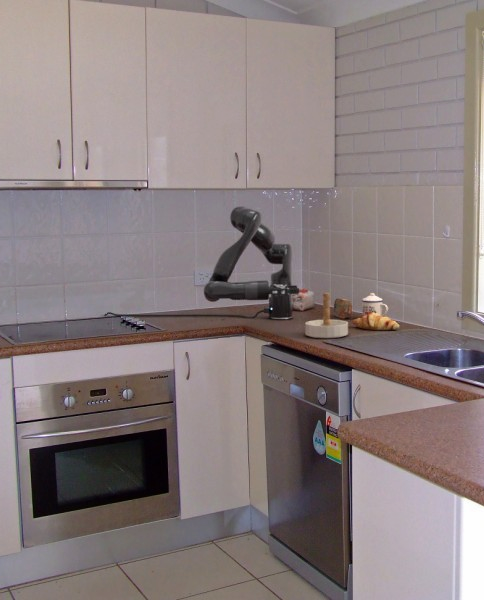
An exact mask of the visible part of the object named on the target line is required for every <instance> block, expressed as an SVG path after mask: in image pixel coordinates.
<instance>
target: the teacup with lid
mask: <svg viewBox="0 0 484 600" xmlns="http://www.w3.org/2000/svg"><path fill="white" fill-rule="evenodd" d="M383 301H384V299H383V298H381V297H380V296H378V295H376V294H375V293H374V292H370V293H369V295H367V296H366V297H363V298H362V300H361V302H362V317H364V316H368V315H369V314H370V313H372V312H373V313H378V314H380V315H381V316H386V315H387V314H388V311H389V307H388V305H387V304H386V303H383ZM383 307H385V311H384V312H383Z"/></svg>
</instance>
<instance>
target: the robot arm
mask: <svg viewBox="0 0 484 600" xmlns="http://www.w3.org/2000/svg"><path fill="white" fill-rule="evenodd" d="M262 218H263V217H262V214H261V212H260V211H258V210H256V209H253V208H251V207H246V206H244V205H237V206H235V207H234V208H232V209H231V212H230V216H229V222H230V224H231V226H232V227H233V228H234V229H236V230H237V231H238V232H240V233H241V236H240V237H239V238H238V239H237V240H236V241H234V243H233V244H231V245H230V246H228V247H227V248H226V249H224V251H222V252H221V254H220V255H219V257H218V259H217V261H216V263H215V265H214V267H213V270H212V274H211V276H210V278H209V280H208V282H207V283H206V284H204V287H203V296H204V299H206V301H208V302H211V303H214V302H218V301H219V300H220V299H222V300H223V299H225V300H226V299H229V300H232V301H268V306H267V307H264V308H263V309H262V310H259V311H256V313H255V315H253V316H246V315H242V314H218V313H217V314H214V313H213V314H210V313H209V314H207V313H205V314H203V313H201V314H200V313H199V314H195V313H193V314H191V313H190V314H189V313H188V314H184V313H183V314H121V313H120V314H119V313H113V312H110V311H109V312H106V313H107V314H106V313H105V314H103V316H104V317H106V316H107V315H112V316H114V317H147V318H148V317H151V318H152V317H153V318H154V317H158V318H159V317H228V318H229V317H233V318H243V319H255V318H257V316H258V315H259V314H261V313H263V314H268V319H271V320H275V321H277V320H279V321H280V320H281V321H283V320H291V319H293V311H294V310H293V309H292V295H293V294H299V290H300V288H299V287H298V285H294V284H292V275H293V247H292V245H291V244H290V243H285V242H281V243H280V242H278V243H277V242H276V236H275V234H274V232H273V231H272V230H271V229H270V228H269V227H268V226H267V225H265V224H263V222H262V220H263V219H262ZM250 243H251V244H252V245H253V246H255V248H257V249H258V250H259V252H260V253H261V254H262V255H263V256H264V259H266V261H267V262H268V263H269V264H271V265H282V266H281V268H280V269H279V270H276V271H274V272H271V273H270V277H269V278H270V280H269V281H270V283H269V281H268V280H247V281H232V282H231V281H229V279H230V277H231V276H232V275H233V272H234V270H235V267H236V265H237V263H238V261H239V260H240V258H241V256H242V255H243V253H244V251H245V250H246V248H247V247H248V246H249V244H250ZM269 284H270V285H269Z"/></svg>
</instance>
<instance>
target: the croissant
mask: <svg viewBox="0 0 484 600" xmlns="http://www.w3.org/2000/svg"><path fill="white" fill-rule="evenodd" d="M351 322H352V324H353V325H355V326H356V327H358V328H359V329H364V330H368V331H369V330H370V331H390V330H398V329H400V324H399V323H397V322H396V320H393V319H391V318H390V316H386V315H382V316H381V315H380V314H378V313H373V312H372V313H370V314H369V315H368V316H364V317H363V316H362V317H357V318H356V319H351Z"/></svg>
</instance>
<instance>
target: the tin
mask: <svg viewBox="0 0 484 600" xmlns="http://www.w3.org/2000/svg"><path fill="white" fill-rule="evenodd" d="M352 311H353V305H352V302H351V301H350V300H349V299H344V298H340V297H339V298H338V297H337V298H336V299H335V300H334V303H333V313H334V316H335V317H336V318H340V319H342V320H344V319H345V320H346V319H350V318H351V317H352Z"/></svg>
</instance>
